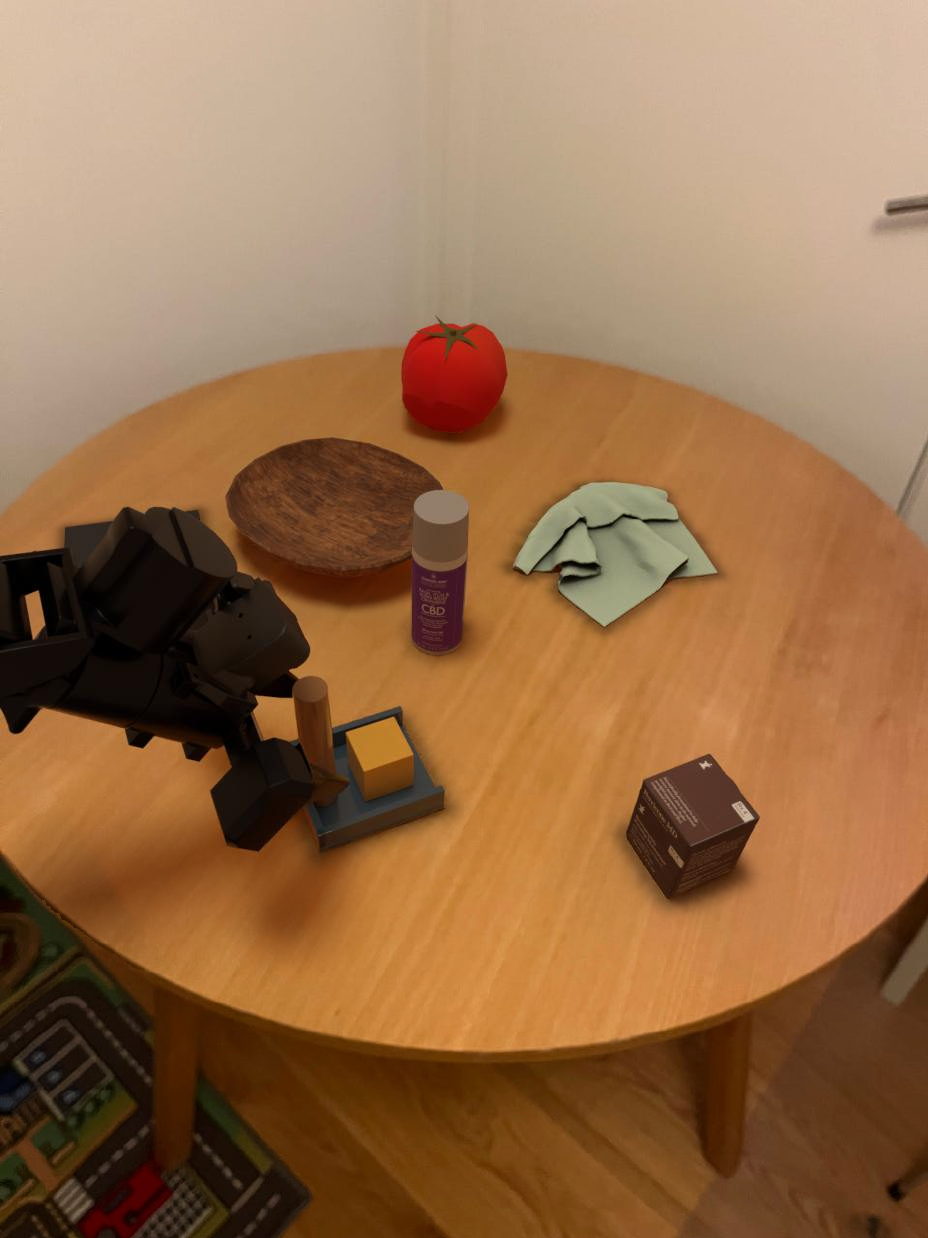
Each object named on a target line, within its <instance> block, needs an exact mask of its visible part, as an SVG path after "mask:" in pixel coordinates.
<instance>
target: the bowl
mask: <svg viewBox="0 0 928 1238" xmlns="http://www.w3.org/2000/svg"><path fill="white" fill-rule="evenodd" d="M434 490H444V488H443V486H442V484H441V482H440V481H439V479H437V478H436V477H435V476H434V475H433V474H432V473H431V472H430V471H429V470H428V469H426V468H425V467H424V466H422V465H420V464H418V463H417V462H415V461H413V460H411V459H409V458H408V457H405V456H404V455H402V454H401V453H399V452H395V451H392V450H389V449H386V448H384V447H382V446H378V445H376V444H373V443H370V442H365V441H358V440H352V439H345V438H339V437H333V436H332V437H321V438H310V439H309V438H308V439H302V440H298V441H295V442H291V443H287V444H284V445H280V446H278V447H276V448H274V449H272V450H270V451H268V452H265V453H264V454H262V455H260V456H259V457H256V458H254V459H253V460H252V461H251V462H250V463H248V464H247V466H245V467H243V468H242V469H241V470H240V471H239V472H238V473H237V474H235V476H234V478H233V479H232V481H231V484H230V486H229V488H228V490H227V492H226V494H225V497H224V498H225V505H226V508H227V513H228V514H227V515H228V518H229V519H230V520H231V522H232V523H233V524H234V525H235V526H236V528H237V529H238V530H239V531H240V533H241V534H242V535H243V536H244V537H245V539H247V541H248V542H249V543H250V544H252V545H253V546H254V547H256V548H258V549H259V550H260V551H262V552H263V553H264V554H266V555H268V556H269V557H270V558H272V559H274V560H275V561H277V562H279V563H282V564H284V565H287V566H291V567H293V568H295V569H298V570H300V571H303V572H306V573H308V574H313V575H321V576H329V577H338V578H354V577H361V576H370V575H376V574H382V573H384V572H387V571H388V570H390V569H393V568H395V567H396V566H399V565H401V564H404V563H405V562H406V561H409V560H412V541H413V515H414V503H415V501H416V499H417V498H418V497H419V496H421V495H422V494H424V493H426V492H429V491H434Z"/></svg>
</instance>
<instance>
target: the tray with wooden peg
mask: <svg viewBox="0 0 928 1238" xmlns="http://www.w3.org/2000/svg"><path fill="white" fill-rule="evenodd" d="M292 695H293V698H292V699H293V700H292V702H293V708H294V716H295V723H296V731H297V738H295V739H293V740H289V741H288V742H289V743H290V744H291V745H293V746H294V747H295V746H296V745H297V744H298V743H301V744H302V747H303V749H304V752H305V754H306V756H307V759H308V761H309V763H311V764H313V765H316V766H319V767H322V768H324V769H327V770H330V771H332V772H335V773H337V774H339V775H341V776H343V777H345V778H347V779H348V780H349V782H350V784H349V786H348V787H347V788H346V789H345V790H344V791H343V792H341V793H339V794H336V795H334V796H331V797H328V798H325V799H322V800H319V801H316V802H313V803H310V804H307V805H304V806H303V807H302V808H301V809H302V811H303V814H304V816H305V818H306V821H307V824H308V827H309V829H310V831H311V834H312V836H313V839H314V842H315V845H316V847H317V849H318V852H319V854H323V853H326V852H329V851H331V850H333V849H337V848H339V847H342V846H344V845H347V844H350V843H353V842H356V841H358V840H362V839H364V838H366V837H369V836H373V835H375V834H377V833H380V832H384V831H385V830H388V829H391V828H394V827H397V826H399V825H402V824H405V823H407V822H410V821H413V820H416V819H418V818H421V817H424V816H426V815H427V816H428V815H429V814H432V813H435V812H437V811H440V810H443V809H445V794H446V790H445V788H444V786H443V785H441V784H440V785H437V786H436V785H435V783H434V782H433V780H432V778H431V775H430V774H429V772H428V770H427V768H426V766H425V764H424V763H423V760H422V759H421V757H420V754H419V752H418V750H417V749H416V747H415V745H414V744H413V741H412V739H411V737H410V736H409V734H408V731H407V730H406V728H405V726H404V711H403V710H404V709H402V706H401V705H398V706H396V707H393V708H389V709H386V710H382V711H379V712H377V713H374V714H370V715H368V716H364V717H361V718H357V719H355V720H352V721H348V722H346V723H343V724H340V725H336V726H332V715H331V705H330V696H329V685H328V684H327V682H326V681H325V680H324V679H323V677H319V676H317V675H306V676H303V677H300V678H299V680H298V681H296V682H295V684H294V685H293V688H292ZM391 717H395V719H396V721H397V723H398V725H399V727H400V729H401V731H402V733H403V735H404V737H405V739H406V741H407V743H408V744H409V746H410V748H411V750H412V752H413V754H414V768H413V786H410V787H407V788H404V789H401V790H399V791H396V792H393V793H390V794H387V795H384V796H382V797H379V798H376V799H373V800H370V801H367V802H365V800H364V798H363V796H362V793H361V791H360V789H359V787H358V784H357V782H356V780H355V778H354V776H353V773H352V771H351V769H350V767H349V765H348V756H347V743H346V732H348V731H351V730H354V729H357V728H360V727H364V726H367V725H370V724H373V723H376V722H379V721H382V720H385V719H388V718H391Z"/></svg>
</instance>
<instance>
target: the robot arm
mask: <svg viewBox="0 0 928 1238" xmlns="http://www.w3.org/2000/svg"><path fill="white" fill-rule="evenodd" d="M184 511H185V510H183V509H180V508H178V507H175V506H172V508H168V507H164V506H152V507H149V508H147V510H146V511H145V512H141V511H139V510H137V509H134V508H133V507H131V506H124V507H122V508H121V509H120V510H119V512H118V513H117V515H116V516H115V517H114V518H113V520H111V521H112V523H111V524H110V527H109V529H108V531H107V534H106V535H105V537H104V538H103V540H102V541H101V542H100V543H99V545H98V546H97V547H96V549H95V550H94V551H93V552H92V554H91V555H90V556H89V557H88V559H87V560H86V561H85V563H84V564H83V565H82V566H81V567H78V566H77V565H76V561H75V557H74V553H73V550H72V549H70V548H64V547H59V548H50V549H44V550H33V551H27V552H20V553H11V554H4V555H0V711H1V712H2V715H3V717H4V719H5V721H6V724H7V728H8V732H9V733H10V734H12V735H20V734H21V733H23V732H24V731H25V730H26V729H27V727H28V726H29V724H30V723H32V721H33V720H34V718H35V717H36V716H37V715H38V713H39V712H40V711H41V710H43V709H46V710H49V711H54V712H57V713H61V714H66V715H68V716H69V715H70V716H73V717H77V718H80V719H84V720H89V721H93V722H96V723H101V724H105V725H109V726H113V727H117V728H120V729H124V733H125V735H126V736H125V737H126V741H127V744H128V746H129V747H134V748H137V749H138V748H139V749H142V750H143V749H145V747H146V746H148V744H149V743H150V742H151V741H152V739H153V738H154V737H156V738H160V739H164V740H167V741H171V742H176V743H179V744H181V747H182V750H183V753H184V757H185V759H186V760H189V761H192V762H193V761H194V762H197V763H200V762H201V761H202V760H203V759H204V758H205V757H206V755H207V754H208V753H209V752H210V751H211V750H212V749H213V750H218V749H221V748H222V747H224V750H225V752H226V755H227V758H228V761H229V764H230V768H229V769H228V770H227V772H226V773H225V774H224V775H222V777H221V778H220V779H219V780H218V781H217V782H216V783H215V784H214V785H213V786H212V788H211V789H209V793H210V796H211V801H212V804H213V806H214V810H215V814H216V817H217V821H218V823H219V826H220V829H221V833H222V836H223V839H224V842H225V846H226V847H229V848H234V849H238V850H239V849H240V850H246V851H252V852H256V853H257V852H258V853H260V852H261V850H263V848H265V846H266V845H267V844H268V843H269V842H270V841H271V840H272V839H273V838H274V837H275V836H276V835H277V834H278V833H279V832H280V831H281V830H282V829H283V828H284V827H285V826H286V825H287V824H288V823H289V822H290V821H291V820H292V818H293V817H295V816H296V814H298V812H299V811H300V810H301V809H302V807H303V806H304V805H307V804H310V803H313V802H316V801H319V800H322V799H325V798H328V797H331V796H334V795H336V794H339V793H341V792H343V791H344V790H345V789H346V788H347V787H348V786H349V784H350V782H349V780H348V779H347V778H345V777H343V776H341V775H339V774H337V773H335V772H332V771H330V770H327V769H324V768H322V767H319V766H316V765H313V764H311V763H309V761H308V759H307V756H306V754H305V752H304V749H303V747H302V744H301V743H298V744H297V745H296V746H295V747H294V746H293V745H291V744H290V743H289V741H288V740H286V739H282V738H280V737H276V736H273V737H270V738H268V739H264V735H263V733H262V730H261V727H260V725H259V723H258V720H257V718H256V715H255V713H254V711H255V709H256V708H257V707H258V706H259V702H258V699H257V697H265V698H266V697H267V698H274V699H275V698H276V699H293V695H292V688H293V685H294V684H295V682H296V681H298V680H299V679H300V678H299V677H297V676H296V675H295V674H294V673H292V671H291V670H295V669H298V668H299V667H301V666H302V665H303V664H304V663H306V661H307V660H308V659H309V657H310V656H311V646H310V643H309V641H308V639H307V638H306V637H305V634H304V632H303V630H302V628H301V625H300V624H299V619H298V618H297V616H296V614H295V613H294V612H293V611H292V609H290V608H289V606H288V605H287V604H286V603H285V602H284V601H283V600H282V599H281V598H280V597H279V596H278V594H277V592H276V590H275V588H274V586H273V584H272V583H273V582H271V581H270V580H269V579H263V580H262V579H261V578H260V577H259V576H258V577H256V578H254V577H253V576H252V575H251V574H248V573H245V572H241V571H238V561H237V560H236V557H235V555H234V554H233V552H232V551H231V548H229V546H228V545H227V544H226V542H224V540H223V539H222V538H221V537H220V536H219V535H218V534H217V533H216V532H215V531H214V530H213V529H211V527H208V525H206V524H205V523H204V522H202V521H201V520H200V521H199V520H198V519H196V518H195V517H193V516H192V515H190V514H188V513H186V512H184ZM36 592H38V595H39V600H40V603H41V604H40V605H41V610H42V611H41V612H42V616H43V620H44V625H43V627H42V628H41V629H40V630H39V631H38V633H37V634H36V636H35V637H34V638H33V631H32V627H31V621H30V614H29V609H28V604H27V599H26V596H28V595H30V594H33V593H36Z"/></svg>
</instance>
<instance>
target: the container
mask: <svg viewBox="0 0 928 1238" xmlns="http://www.w3.org/2000/svg"><path fill="white" fill-rule="evenodd" d="M469 522H470V505H469V502H468V501H467V499H466V498H465V497H464V496H463V495H461V494H459V493H457V492H455V491H451V490H447V489H443V490H434V491H429V492H426V493H424V494H422V495H421V496H419V497H418V498H417V499H416V501H415V503H414V515H413V541H412V558H411V642H412V644H413V646H414V647H415V648H416V649H417V650H419V651H420V652H421V653H424V654H426V655H429V656H445V655H446V656H447V655H448V654H451V653H453V652H455V651H457V649H459V648H460V646H461V644H462V642H463V637H464V622H465V621H464V620H465V605H466V591H467V576H468V575H467V574H468V559H469V528H470V527H469V525H470V523H469Z"/></svg>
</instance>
